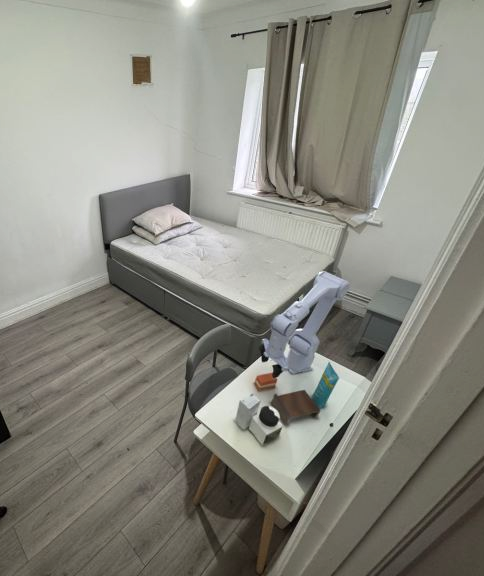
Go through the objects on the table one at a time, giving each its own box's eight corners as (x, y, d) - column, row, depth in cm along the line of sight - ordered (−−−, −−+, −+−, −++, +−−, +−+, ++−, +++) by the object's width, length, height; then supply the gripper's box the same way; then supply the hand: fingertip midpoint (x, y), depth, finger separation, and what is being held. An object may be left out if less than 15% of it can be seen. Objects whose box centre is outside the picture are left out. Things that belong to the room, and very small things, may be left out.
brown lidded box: (301, 396, 116) (305, 387, 113) (317, 417, 109) (322, 407, 106) (270, 403, 114) (274, 393, 111) (284, 425, 107) (288, 415, 104)
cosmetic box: (243, 430, 106) (249, 410, 99) (234, 420, 109) (238, 400, 102) (255, 421, 109) (261, 401, 102) (245, 412, 112) (251, 391, 105)
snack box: (270, 380, 123) (272, 372, 120) (275, 387, 120) (277, 379, 117) (254, 383, 122) (256, 375, 119) (258, 391, 119) (261, 383, 116)
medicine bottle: (262, 446, 101) (270, 426, 94) (248, 428, 107) (254, 408, 100) (278, 437, 104) (287, 417, 97) (263, 420, 109) (270, 400, 102)
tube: (306, 394, 117) (321, 360, 106) (319, 393, 117) (335, 360, 106) (316, 411, 111) (333, 377, 100) (329, 410, 111) (347, 377, 100)
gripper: (256, 332, 113) (250, 356, 121) (279, 360, 101) (270, 386, 109) (273, 329, 114) (266, 353, 122) (297, 356, 102) (288, 382, 110)
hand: (269, 368), depth 115 cm, fingers open, 7 cm apart
